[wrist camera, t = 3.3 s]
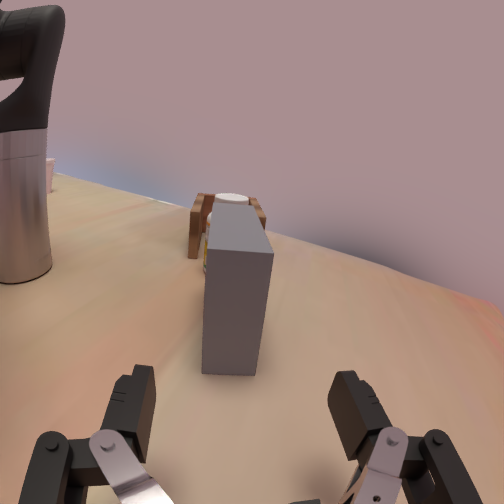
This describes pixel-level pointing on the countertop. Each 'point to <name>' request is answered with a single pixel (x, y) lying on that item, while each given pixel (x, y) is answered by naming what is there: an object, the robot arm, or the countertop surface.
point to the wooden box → (199, 219)
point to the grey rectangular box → (235, 290)
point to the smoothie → (49, 174)
